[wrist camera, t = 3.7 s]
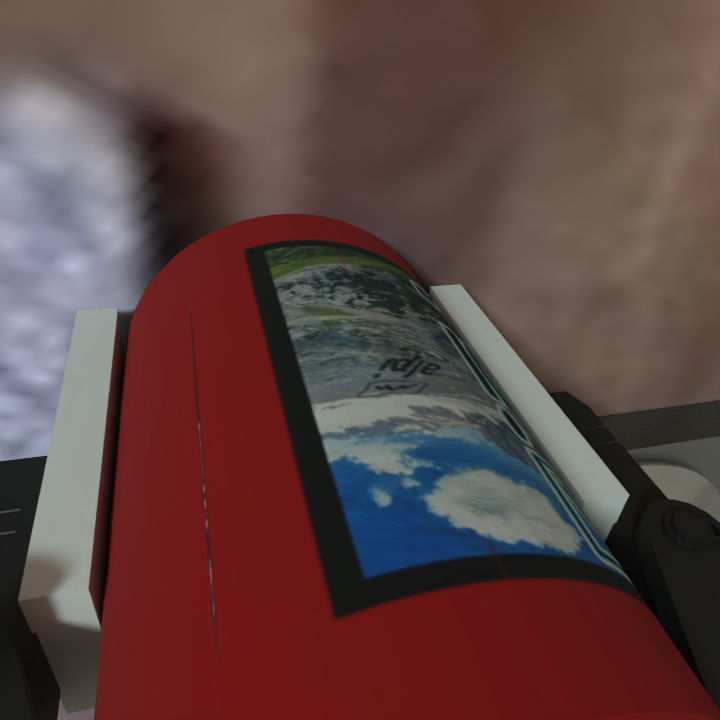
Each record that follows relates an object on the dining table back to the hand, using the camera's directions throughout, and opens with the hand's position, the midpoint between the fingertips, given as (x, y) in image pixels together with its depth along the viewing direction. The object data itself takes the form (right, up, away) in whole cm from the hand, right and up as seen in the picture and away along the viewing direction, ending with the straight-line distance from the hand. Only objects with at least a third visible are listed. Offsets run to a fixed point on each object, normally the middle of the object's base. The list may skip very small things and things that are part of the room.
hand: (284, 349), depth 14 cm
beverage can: (0, 0, +1) cm, 1 cm away
